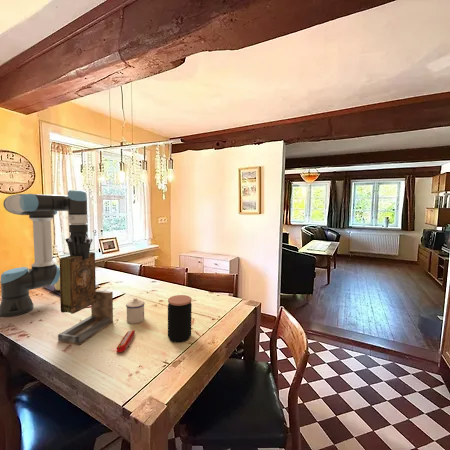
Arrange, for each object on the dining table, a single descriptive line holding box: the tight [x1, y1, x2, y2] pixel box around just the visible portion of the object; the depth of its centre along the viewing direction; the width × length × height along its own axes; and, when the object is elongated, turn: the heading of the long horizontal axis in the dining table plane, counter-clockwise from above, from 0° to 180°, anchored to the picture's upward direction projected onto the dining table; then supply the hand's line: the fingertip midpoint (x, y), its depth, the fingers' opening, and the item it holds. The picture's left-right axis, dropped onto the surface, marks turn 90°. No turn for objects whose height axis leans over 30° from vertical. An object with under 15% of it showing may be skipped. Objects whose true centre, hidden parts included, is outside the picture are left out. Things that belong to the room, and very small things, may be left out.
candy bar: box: [116, 329, 136, 354], centre depth 111 cm, size 16×4×3 cm, turn 3°
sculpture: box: [53, 278, 60, 291], centre depth 176 cm, size 11×12×11 cm
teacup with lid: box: [125, 297, 146, 325], centre depth 133 cm, size 12×9×12 cm
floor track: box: [57, 289, 114, 346], centre depth 120 cm, size 11×22×16 cm, turn 167°
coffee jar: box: [167, 294, 193, 344], centre depth 116 cm, size 11×11×18 cm
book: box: [59, 251, 97, 315], centre depth 119 cm, size 16×6×25 cm, turn 167°
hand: (80, 273), depth 119 cm, fingers closed
